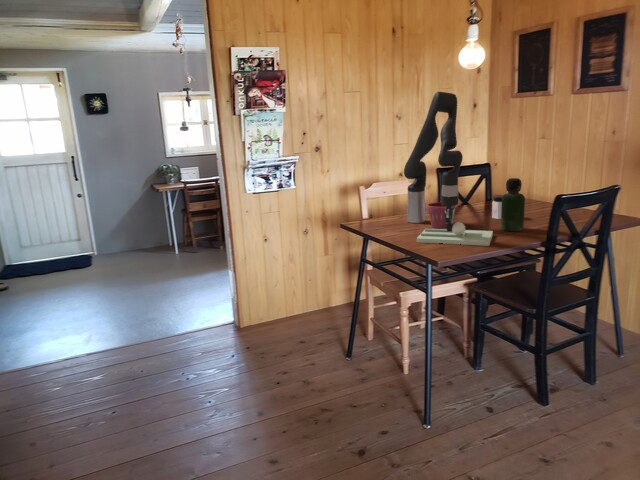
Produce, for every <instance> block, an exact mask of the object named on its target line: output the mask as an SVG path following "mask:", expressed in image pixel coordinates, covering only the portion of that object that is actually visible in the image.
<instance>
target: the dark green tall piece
mask: <svg viewBox="0 0 640 480" xmlns="http://www.w3.org/2000/svg"><path fill="white" fill-rule="evenodd" d="M505 189H506V192H507V193H505V194H502V195H503V196H502V207H501V219H500V229H501V230H502V231H505V232H521V231H524V228H525V226H524V225H525V205H526V198H525V196H524V194H522V193H520V192H521V190H522V179H520V178H517V177H515V178H514V177H513V178H512V177H511V178H508V179H507V180H506V183H505Z"/></svg>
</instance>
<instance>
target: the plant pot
mask: <svg viewBox="0 0 640 480" xmlns="http://www.w3.org/2000/svg"><path fill="white" fill-rule="evenodd" d="M453 208H455V209H456V205H455V206H453ZM445 209H446V206H444V205H442V204H441V201H440V202H439V201H438V202H437V201H436V202H430V203H428V204H426V212H427V213H428V217H429V220H430V221H429V222H430V225H431V229H447V223H446V221H445ZM455 212H456V210H455V211H454V213H455Z"/></svg>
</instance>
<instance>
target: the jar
mask: <svg viewBox="0 0 640 480" xmlns="http://www.w3.org/2000/svg"><path fill="white" fill-rule="evenodd" d="M503 195H504V194H495V195H493V197H492V202H491V203H492V204H491V207H492V208H491V210H492V211H491V218H492V219H496V220H501V207H502V196H503Z"/></svg>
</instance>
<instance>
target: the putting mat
mask: <svg viewBox="0 0 640 480" xmlns="http://www.w3.org/2000/svg"><path fill="white" fill-rule="evenodd" d="M493 235H494V231H493V230H476V229H475V230H474V229H473V230H472V229H465V232H464V233H463V234H461V235H456V234H454V233H453V231H447V229H432V228H424V229H423V231H422V232H421V233H420V234H419V235H418V236H417V237H416V243H417V244H418V243H423V244H439V243H443V244H444V245H460V244H461V245H463V246H469V245H470V246H484V247H488V246H489V247H490V245H491V241H492V240H493V239H492V238H493ZM443 244H442V245H443ZM461 245H460V246H461Z"/></svg>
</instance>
